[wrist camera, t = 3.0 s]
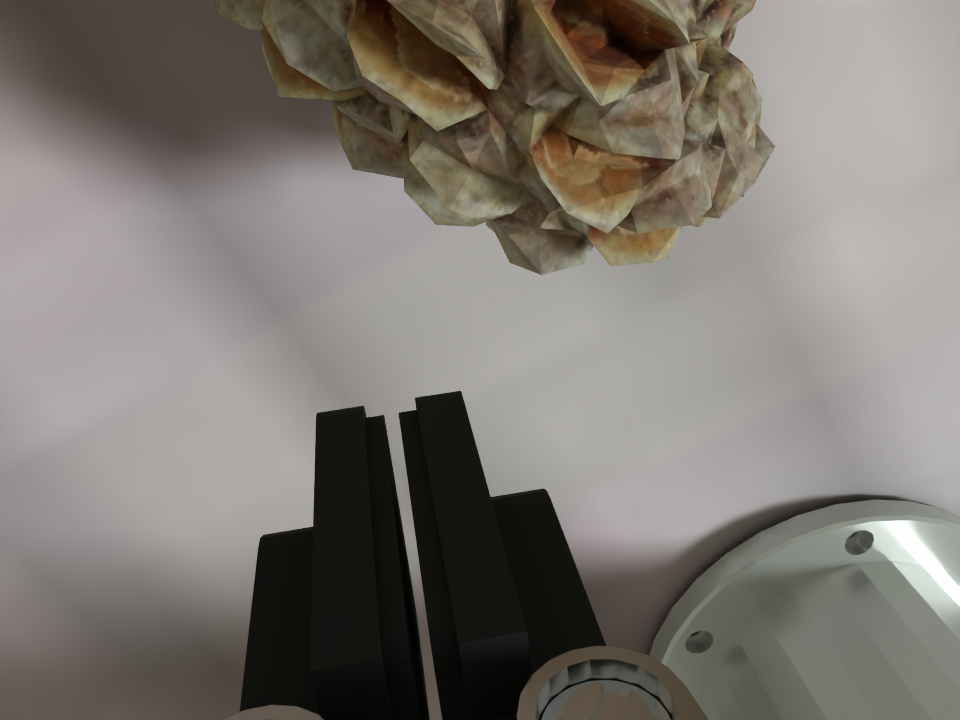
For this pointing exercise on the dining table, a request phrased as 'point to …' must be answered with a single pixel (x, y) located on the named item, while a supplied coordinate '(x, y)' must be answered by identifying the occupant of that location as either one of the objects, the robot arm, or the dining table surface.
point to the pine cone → (533, 112)
